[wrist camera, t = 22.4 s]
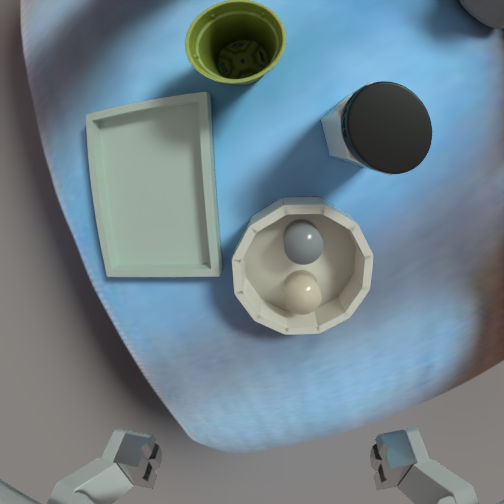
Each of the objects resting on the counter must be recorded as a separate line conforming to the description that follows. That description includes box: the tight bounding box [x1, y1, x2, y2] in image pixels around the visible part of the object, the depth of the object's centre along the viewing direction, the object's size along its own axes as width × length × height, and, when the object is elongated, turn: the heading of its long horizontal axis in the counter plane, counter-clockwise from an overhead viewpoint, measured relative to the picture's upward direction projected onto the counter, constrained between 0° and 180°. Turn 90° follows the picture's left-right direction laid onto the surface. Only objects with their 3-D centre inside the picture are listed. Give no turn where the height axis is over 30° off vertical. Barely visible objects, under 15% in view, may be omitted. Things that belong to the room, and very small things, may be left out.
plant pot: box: [185, 0, 286, 85], centre depth 27 cm, size 9×9×9 cm
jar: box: [321, 82, 432, 175], centre depth 27 cm, size 9×8×12 cm
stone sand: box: [284, 270, 321, 315], centre depth 37 cm, size 4×4×4 cm
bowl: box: [232, 197, 373, 335], centre depth 36 cm, size 16×16×5 cm
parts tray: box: [86, 91, 223, 277], centre depth 36 cm, size 22×16×2 cm
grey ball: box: [283, 219, 324, 265], centre depth 35 cm, size 4×4×4 cm
